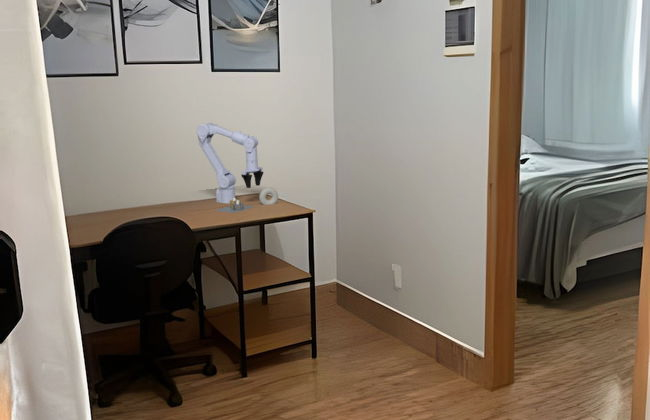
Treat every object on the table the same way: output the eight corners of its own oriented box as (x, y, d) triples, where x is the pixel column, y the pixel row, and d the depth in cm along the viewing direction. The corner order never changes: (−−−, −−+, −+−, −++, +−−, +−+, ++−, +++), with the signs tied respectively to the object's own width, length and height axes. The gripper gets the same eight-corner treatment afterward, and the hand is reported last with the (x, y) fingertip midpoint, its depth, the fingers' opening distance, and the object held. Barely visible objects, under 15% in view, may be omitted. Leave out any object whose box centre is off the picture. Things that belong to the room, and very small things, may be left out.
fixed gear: (230, 210, 311) (230, 204, 310) (236, 208, 316) (235, 202, 315) (240, 210, 309) (239, 204, 308) (245, 208, 314) (245, 202, 313)
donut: (277, 205, 328) (276, 186, 326) (279, 206, 324) (278, 187, 322) (258, 206, 324) (257, 187, 322) (260, 208, 321) (259, 188, 319)
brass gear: (227, 207, 317) (227, 200, 317) (234, 205, 322) (234, 198, 321) (236, 208, 314) (235, 201, 314) (243, 206, 319) (242, 199, 318)
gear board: (214, 213, 312) (213, 201, 310) (235, 207, 325) (234, 195, 324) (234, 215, 305) (233, 203, 304) (255, 209, 318) (254, 197, 317)
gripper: (249, 162, 315) (250, 189, 318) (266, 159, 327) (267, 184, 330) (238, 162, 319) (239, 188, 322) (255, 158, 331) (257, 184, 334)
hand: (253, 186), depth 326 cm, fingers open, 7 cm apart
